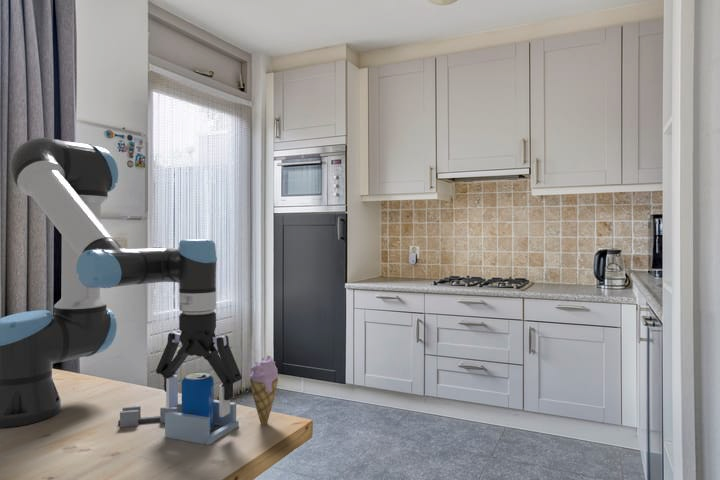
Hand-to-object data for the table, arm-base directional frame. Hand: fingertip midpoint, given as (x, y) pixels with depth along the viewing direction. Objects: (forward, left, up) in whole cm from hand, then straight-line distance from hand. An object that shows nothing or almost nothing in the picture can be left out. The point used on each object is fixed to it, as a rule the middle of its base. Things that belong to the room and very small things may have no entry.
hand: (197, 410), depth 105 cm
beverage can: (0, 0, -4) cm, 4 cm away
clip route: (-12, 0, -4) cm, 13 cm away
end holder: (0, 0, -4) cm, 4 cm away
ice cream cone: (+12, +8, -4) cm, 15 cm away
